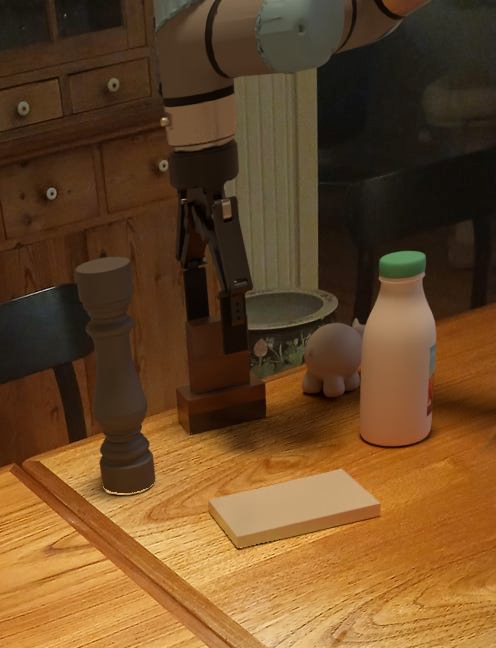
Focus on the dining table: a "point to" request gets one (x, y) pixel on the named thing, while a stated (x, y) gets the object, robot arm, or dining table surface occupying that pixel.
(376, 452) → the dining table surface
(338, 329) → the round bodied animal figurine
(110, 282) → the candle holder
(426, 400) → the milk bottle
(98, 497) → the dining table surface
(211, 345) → the stepped wooden block
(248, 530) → the tile
